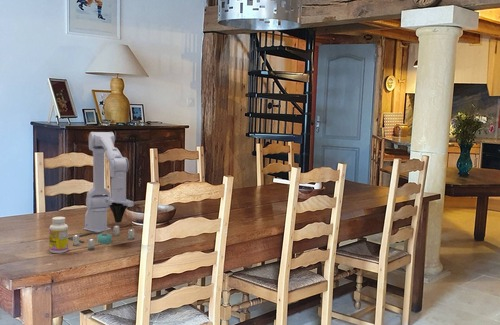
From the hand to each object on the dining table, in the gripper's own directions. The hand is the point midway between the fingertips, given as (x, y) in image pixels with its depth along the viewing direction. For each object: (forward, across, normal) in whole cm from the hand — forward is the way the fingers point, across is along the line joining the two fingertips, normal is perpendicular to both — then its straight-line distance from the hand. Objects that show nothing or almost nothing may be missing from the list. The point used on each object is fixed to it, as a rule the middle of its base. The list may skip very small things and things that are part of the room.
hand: (118, 222), depth 212 cm
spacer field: (+9, -8, 0) cm, 12 cm away
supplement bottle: (+10, -10, -20) cm, 25 cm away
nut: (+10, -8, 0) cm, 12 cm away
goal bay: (+9, -18, 0) cm, 20 cm away
